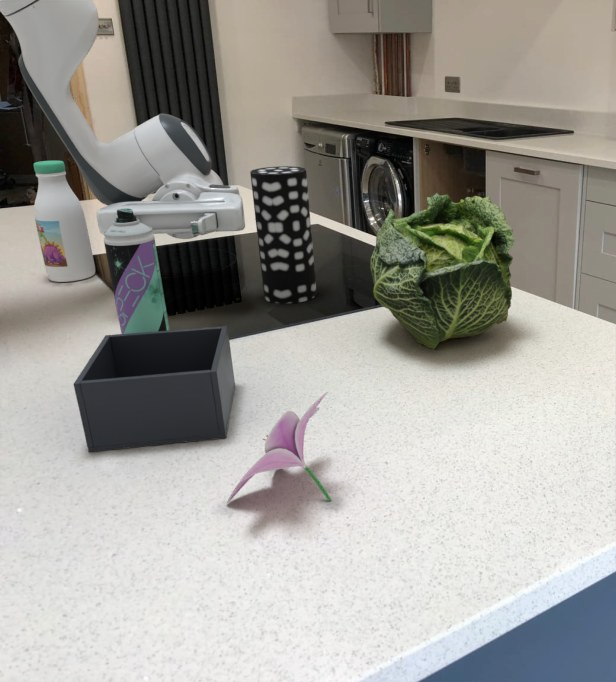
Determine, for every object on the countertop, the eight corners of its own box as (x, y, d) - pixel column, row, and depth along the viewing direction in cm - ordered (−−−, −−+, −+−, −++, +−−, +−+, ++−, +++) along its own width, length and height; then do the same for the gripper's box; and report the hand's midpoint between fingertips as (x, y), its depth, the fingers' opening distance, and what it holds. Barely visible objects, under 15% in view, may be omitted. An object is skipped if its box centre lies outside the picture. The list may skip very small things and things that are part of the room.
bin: (88, 452, 73) (73, 383, 70) (117, 395, 85) (105, 335, 82) (226, 438, 75) (216, 371, 72) (235, 384, 87) (227, 325, 84)
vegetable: (414, 395, 100) (406, 296, 84) (354, 303, 110) (337, 200, 95) (535, 338, 106) (549, 236, 90) (467, 256, 117) (469, 152, 101)
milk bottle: (89, 268, 135) (67, 157, 128) (101, 277, 130) (79, 161, 122) (43, 276, 130) (17, 161, 123) (54, 285, 125) (28, 166, 118)
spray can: (126, 364, 93) (97, 207, 86) (171, 356, 95) (146, 203, 88) (130, 380, 89) (99, 216, 81) (178, 371, 91) (152, 211, 84)
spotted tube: (255, 294, 119) (240, 170, 112) (300, 284, 124) (289, 164, 117) (279, 307, 113) (265, 176, 106) (326, 296, 118) (316, 170, 111)
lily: (342, 457, 73) (290, 378, 71) (399, 462, 64) (341, 371, 61) (244, 538, 67) (184, 454, 65) (291, 557, 58) (221, 460, 55)
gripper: (109, 190, 110) (76, 208, 98) (248, 186, 113) (233, 203, 100) (117, 231, 113) (85, 254, 100) (252, 226, 115) (239, 248, 102)
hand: (160, 229), depth 100 cm, fingers open, 8 cm apart
